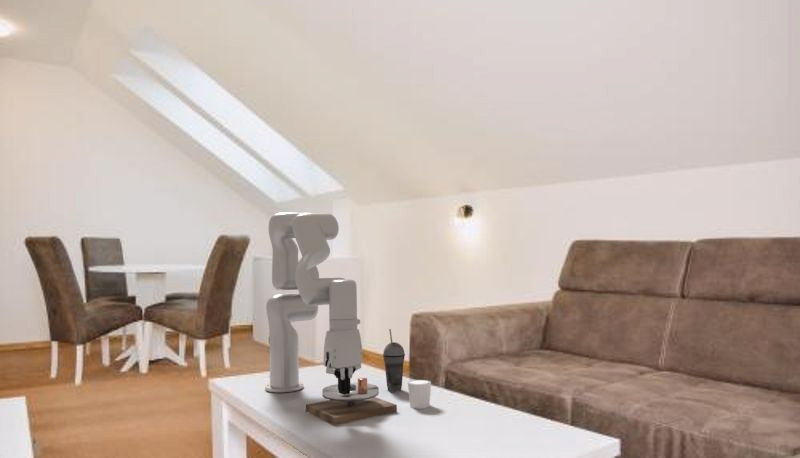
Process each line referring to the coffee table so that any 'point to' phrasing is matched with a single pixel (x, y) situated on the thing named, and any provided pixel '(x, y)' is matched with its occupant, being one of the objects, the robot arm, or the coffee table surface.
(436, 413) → the coffee table surface
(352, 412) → the wheel base
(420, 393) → the white faceted cup
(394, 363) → the beverage cup
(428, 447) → the coffee table surface
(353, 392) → the handwheel
